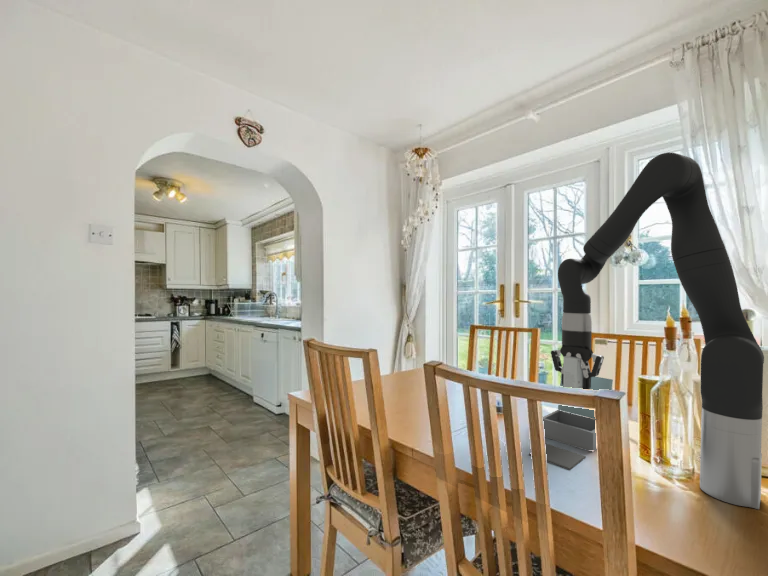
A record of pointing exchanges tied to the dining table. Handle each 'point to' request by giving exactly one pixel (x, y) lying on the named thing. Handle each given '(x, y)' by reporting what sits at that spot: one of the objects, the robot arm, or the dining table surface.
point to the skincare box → (572, 372)
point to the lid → (595, 385)
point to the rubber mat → (562, 457)
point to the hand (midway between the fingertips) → (575, 388)
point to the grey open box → (570, 429)
